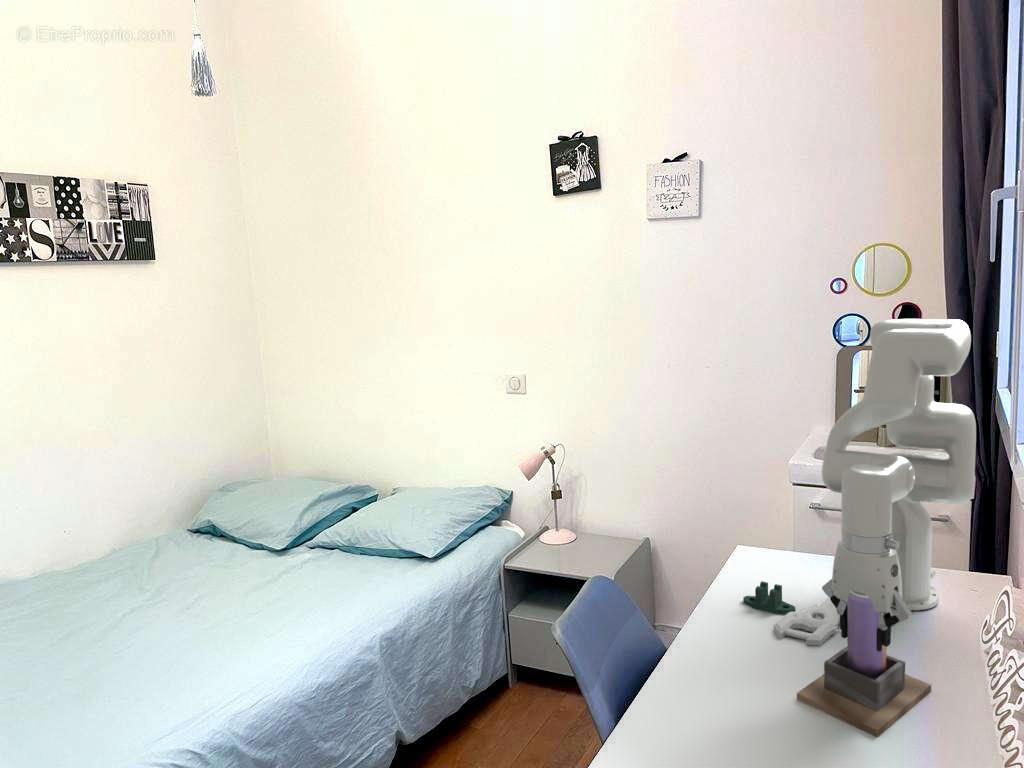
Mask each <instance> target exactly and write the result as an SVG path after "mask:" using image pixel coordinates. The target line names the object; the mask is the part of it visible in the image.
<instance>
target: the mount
mask: <svg viewBox="0 0 1024 768" xmlns="http://www.w3.org/2000/svg"><path fill="white" fill-rule="evenodd" d="M759 583H760V584H759V585H757V586H756V587H755V590H754V591H755V592H754V595H746V596H743V598H742V600H743V601H742V602H744V603H745V604H746V605H745V604H744V603H743V604H744V605H745V606H747V605H748V606H747V607H749V606H750V608H751V607H752V608H751V609H754V610H756V611H757V610H758V611H761V612H765V613H768V614H769V613H770V614H774V615H784V616H785V615H786V614H787V613H789V612H796V607H795V606H794V605H793V604H791V603H788V602H786V601H783V585H781V584H777V583H776V584H774V585H773V588H770V590H769V583H768V582H766V581H762V580H761V582H759Z"/></svg>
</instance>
